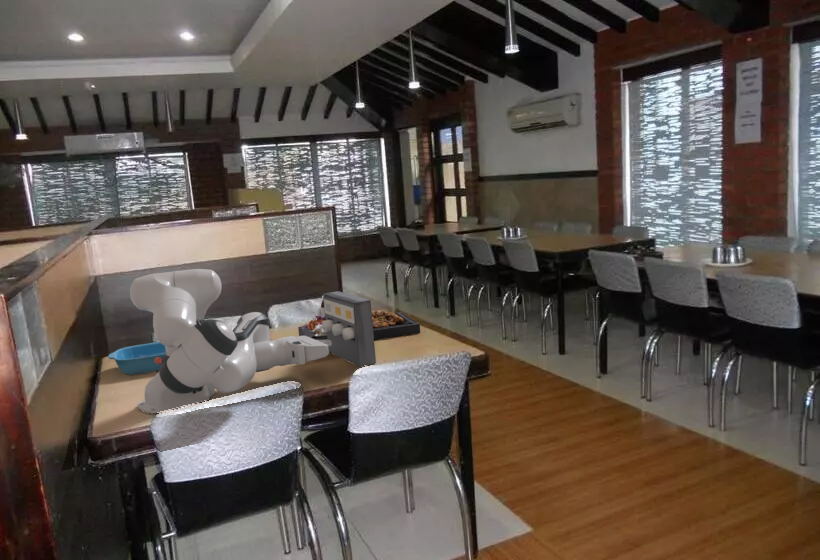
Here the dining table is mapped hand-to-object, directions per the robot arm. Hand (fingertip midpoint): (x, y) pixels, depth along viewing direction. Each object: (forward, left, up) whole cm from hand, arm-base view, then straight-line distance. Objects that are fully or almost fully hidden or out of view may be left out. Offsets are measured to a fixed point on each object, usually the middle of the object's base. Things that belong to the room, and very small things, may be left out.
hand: (329, 342), depth 206 cm
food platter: (+38, +29, -11) cm, 49 cm away
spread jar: (+50, +62, -10) cm, 80 cm away
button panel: (+13, +6, -10) cm, 17 cm away
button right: (+8, -1, -1) cm, 8 cm away
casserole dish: (-27, +64, -10) cm, 70 cm away
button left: (+13, +15, -1) cm, 20 cm away
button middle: (+10, +7, -1) cm, 13 cm away
